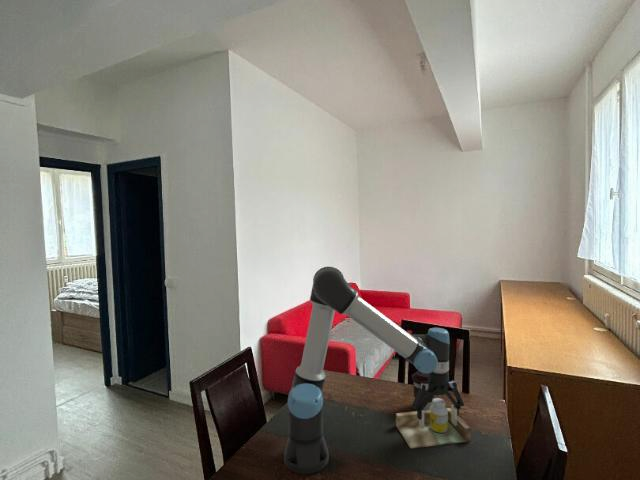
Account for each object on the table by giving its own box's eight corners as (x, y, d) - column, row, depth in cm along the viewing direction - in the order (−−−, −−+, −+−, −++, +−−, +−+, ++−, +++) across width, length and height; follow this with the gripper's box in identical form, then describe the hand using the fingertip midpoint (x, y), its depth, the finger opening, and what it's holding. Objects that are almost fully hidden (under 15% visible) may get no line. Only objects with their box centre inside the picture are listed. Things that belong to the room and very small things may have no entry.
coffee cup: (438, 414, 142) (437, 379, 142) (413, 412, 144) (413, 377, 143) (433, 402, 152) (433, 369, 152) (411, 400, 154) (410, 368, 153)
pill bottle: (431, 424, 134) (431, 395, 134) (449, 428, 131) (449, 398, 131) (428, 433, 129) (428, 402, 128) (446, 437, 126) (446, 406, 125)
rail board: (410, 448, 121) (410, 434, 121) (396, 425, 135) (395, 413, 135) (470, 441, 124) (470, 427, 124) (450, 420, 138) (450, 407, 138)
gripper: (411, 376, 124) (411, 434, 124) (474, 371, 127) (473, 428, 128) (403, 368, 131) (403, 422, 132) (462, 364, 135) (462, 417, 135)
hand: (437, 425), depth 130 cm, fingers open, 12 cm apart
